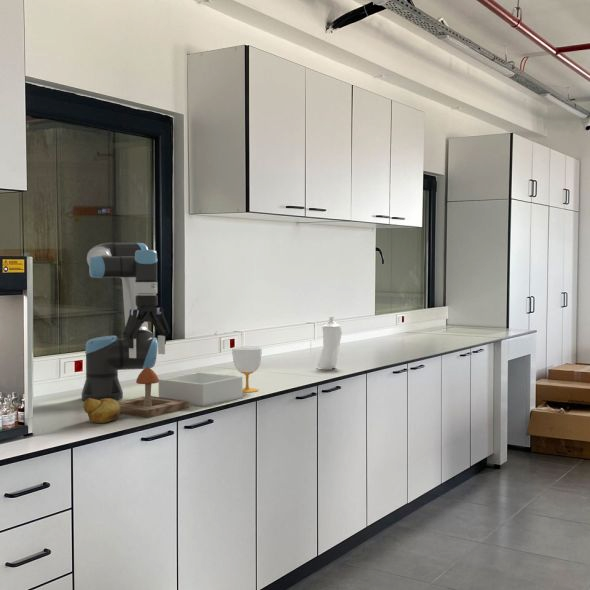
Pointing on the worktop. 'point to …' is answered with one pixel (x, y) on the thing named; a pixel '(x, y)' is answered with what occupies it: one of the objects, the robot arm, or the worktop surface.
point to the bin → (201, 388)
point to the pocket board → (157, 408)
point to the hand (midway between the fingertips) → (147, 356)
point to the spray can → (330, 345)
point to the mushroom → (147, 384)
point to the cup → (247, 362)
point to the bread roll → (102, 410)
